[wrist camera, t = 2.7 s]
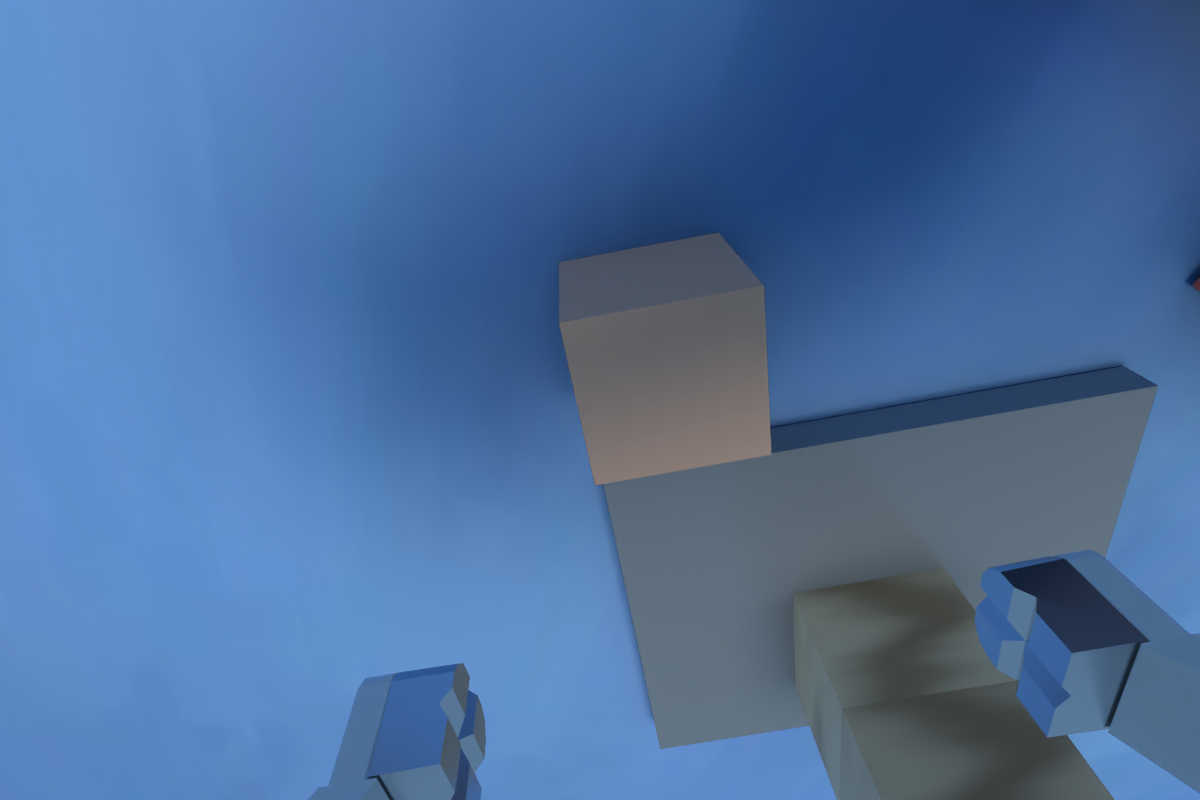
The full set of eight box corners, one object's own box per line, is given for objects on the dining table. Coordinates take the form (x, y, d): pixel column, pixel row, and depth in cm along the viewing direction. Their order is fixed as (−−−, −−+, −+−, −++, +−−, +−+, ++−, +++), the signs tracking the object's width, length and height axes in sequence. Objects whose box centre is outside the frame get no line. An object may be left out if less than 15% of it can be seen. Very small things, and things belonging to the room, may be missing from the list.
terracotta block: (717, 231, 19) (763, 285, 15) (728, 373, 22) (771, 454, 17) (558, 261, 19) (559, 323, 15) (588, 398, 22) (595, 485, 18)
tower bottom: (943, 567, 25) (1025, 679, 20) (930, 665, 28) (999, 781, 23) (792, 593, 25) (842, 708, 21) (795, 687, 28) (838, 805, 24)
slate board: (1123, 365, 22) (1158, 385, 21) (1043, 657, 30) (1065, 684, 29) (600, 458, 23) (602, 482, 22) (656, 719, 31) (660, 749, 30)
